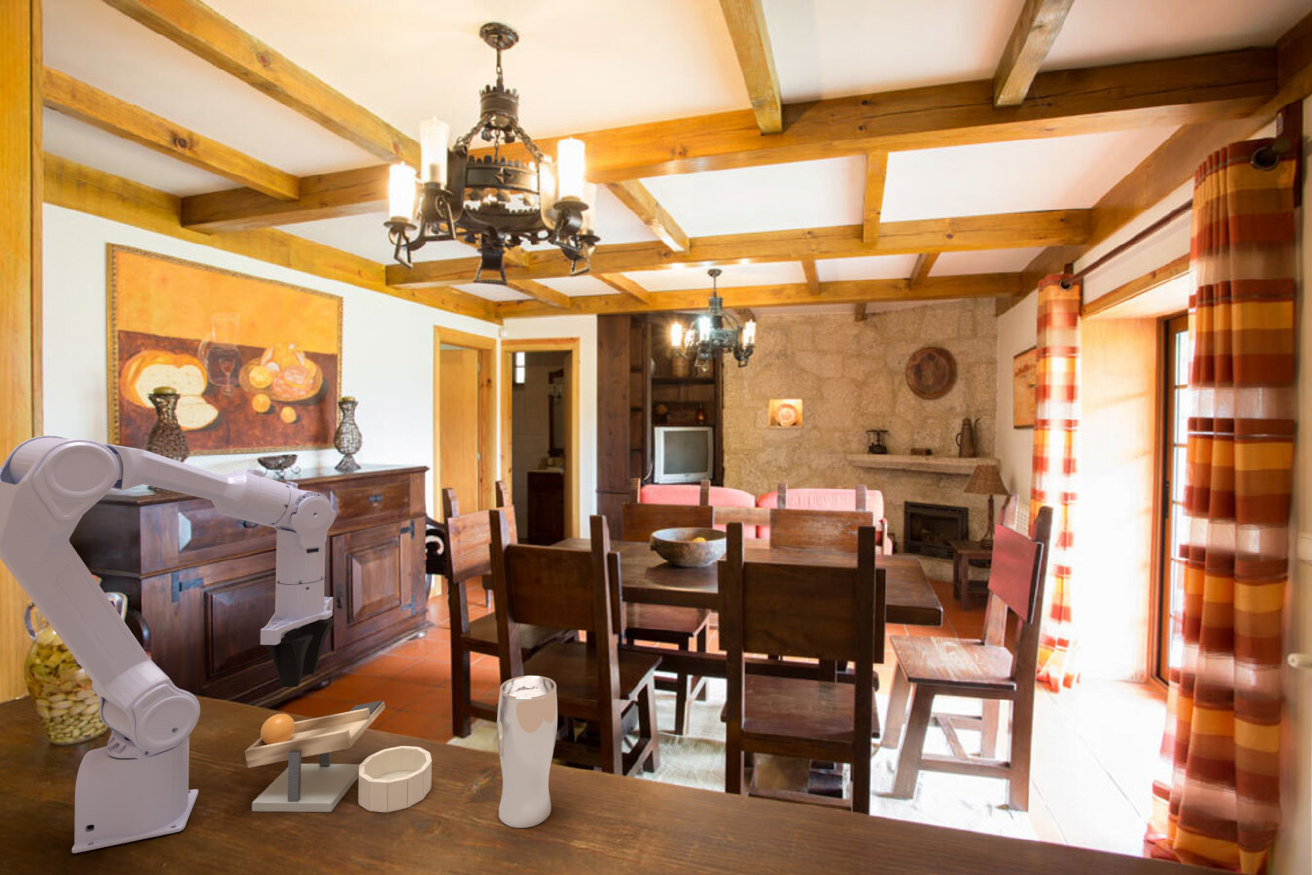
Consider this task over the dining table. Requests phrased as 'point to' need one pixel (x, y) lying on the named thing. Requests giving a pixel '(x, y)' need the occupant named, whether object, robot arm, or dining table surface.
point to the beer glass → (526, 748)
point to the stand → (307, 786)
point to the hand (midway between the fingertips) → (298, 679)
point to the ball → (277, 729)
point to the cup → (394, 778)
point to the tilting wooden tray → (318, 735)
